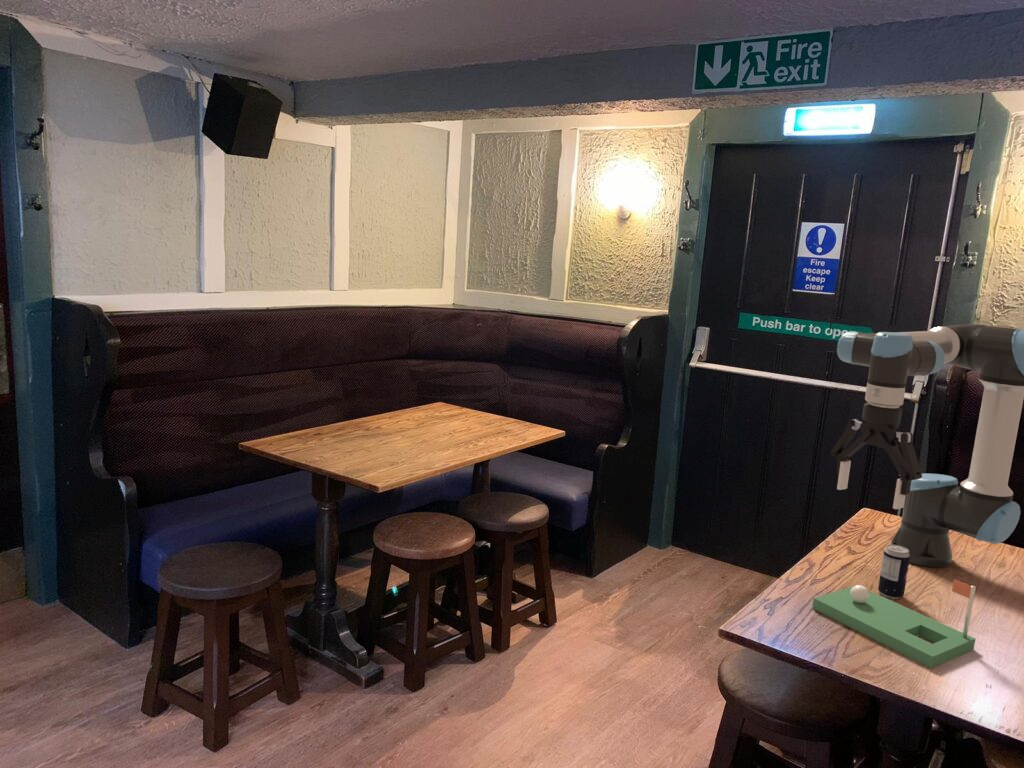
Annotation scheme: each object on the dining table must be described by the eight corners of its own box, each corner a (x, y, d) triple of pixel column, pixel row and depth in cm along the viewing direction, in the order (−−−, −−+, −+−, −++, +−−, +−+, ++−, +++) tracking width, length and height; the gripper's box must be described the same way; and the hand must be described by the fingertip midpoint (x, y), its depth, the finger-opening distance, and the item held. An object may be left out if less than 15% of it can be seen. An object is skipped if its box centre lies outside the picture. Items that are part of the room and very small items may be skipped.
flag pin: (944, 638, 168) (955, 578, 165) (965, 648, 164) (976, 586, 162) (942, 639, 167) (953, 579, 165) (963, 649, 164) (974, 587, 161)
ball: (856, 596, 180) (858, 580, 179) (871, 604, 177) (874, 587, 176) (845, 600, 178) (847, 584, 177) (861, 607, 175) (863, 591, 174)
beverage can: (906, 602, 185) (914, 554, 183) (880, 598, 186) (888, 551, 184) (899, 591, 190) (907, 545, 188) (874, 588, 191) (882, 542, 189)
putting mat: (855, 594, 187) (856, 585, 187) (973, 649, 164) (975, 638, 163) (812, 608, 179) (813, 598, 178) (930, 668, 156) (932, 656, 155)
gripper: (822, 393, 176) (810, 483, 180) (929, 418, 155) (913, 519, 159) (843, 391, 180) (830, 479, 184) (950, 415, 159) (933, 514, 163)
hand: (869, 498), depth 171 cm, fingers open, 13 cm apart
